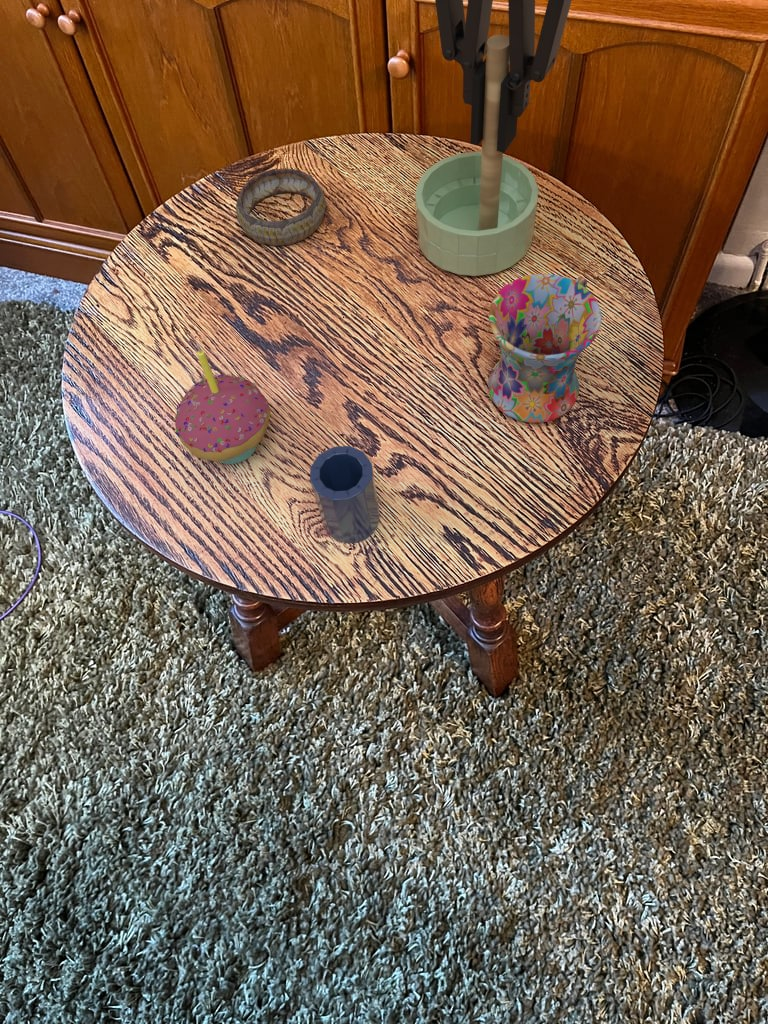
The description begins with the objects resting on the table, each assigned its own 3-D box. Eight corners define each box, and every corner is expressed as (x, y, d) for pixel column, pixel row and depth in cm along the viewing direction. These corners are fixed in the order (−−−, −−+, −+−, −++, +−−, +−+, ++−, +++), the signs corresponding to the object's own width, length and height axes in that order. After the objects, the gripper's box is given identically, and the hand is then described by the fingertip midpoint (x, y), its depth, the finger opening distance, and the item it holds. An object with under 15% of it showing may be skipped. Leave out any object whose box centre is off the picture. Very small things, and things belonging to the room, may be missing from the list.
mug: (549, 448, 70) (565, 375, 61) (464, 402, 74) (467, 326, 64) (613, 361, 75) (637, 280, 65) (530, 321, 78) (542, 239, 68)
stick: (500, 228, 81) (515, 37, 64) (492, 241, 81) (505, 50, 63) (482, 223, 82) (492, 32, 64) (474, 235, 81) (482, 45, 64)
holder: (389, 507, 69) (383, 459, 62) (362, 552, 67) (352, 509, 60) (341, 485, 70) (329, 437, 63) (313, 529, 68) (298, 484, 61)
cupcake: (187, 417, 75) (144, 334, 65) (272, 399, 75) (244, 313, 65) (195, 491, 71) (151, 416, 60) (285, 471, 71) (257, 393, 61)
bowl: (550, 217, 84) (557, 170, 79) (503, 294, 80) (507, 249, 74) (448, 186, 88) (448, 139, 83) (397, 258, 83) (394, 213, 78)
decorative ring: (222, 219, 88) (275, 264, 84) (214, 196, 85) (269, 241, 81) (291, 175, 91) (345, 217, 87) (286, 151, 88) (342, 192, 84)
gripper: (385, -169, 52) (403, 143, 72) (599, -136, 47) (553, 186, 68) (435, -217, 55) (438, 97, 75) (641, -189, 50) (584, 135, 71)
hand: (493, 139), depth 72 cm, fingers closed on stick, 2 cm apart
